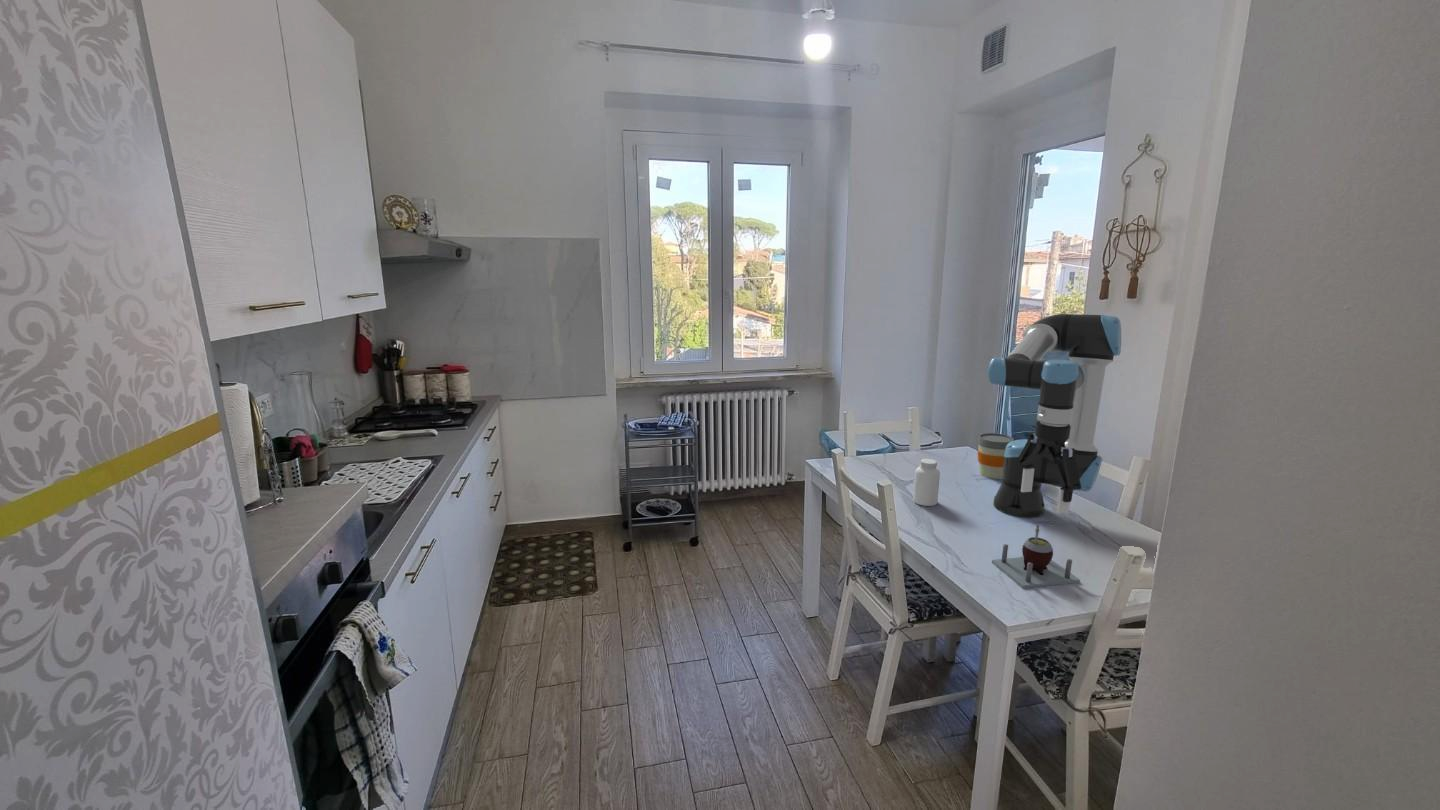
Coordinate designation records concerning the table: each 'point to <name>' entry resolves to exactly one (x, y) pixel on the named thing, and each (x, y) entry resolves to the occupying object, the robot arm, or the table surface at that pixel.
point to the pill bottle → (926, 483)
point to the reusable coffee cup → (992, 454)
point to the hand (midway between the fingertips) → (1043, 501)
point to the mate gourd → (1037, 553)
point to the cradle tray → (1034, 572)
